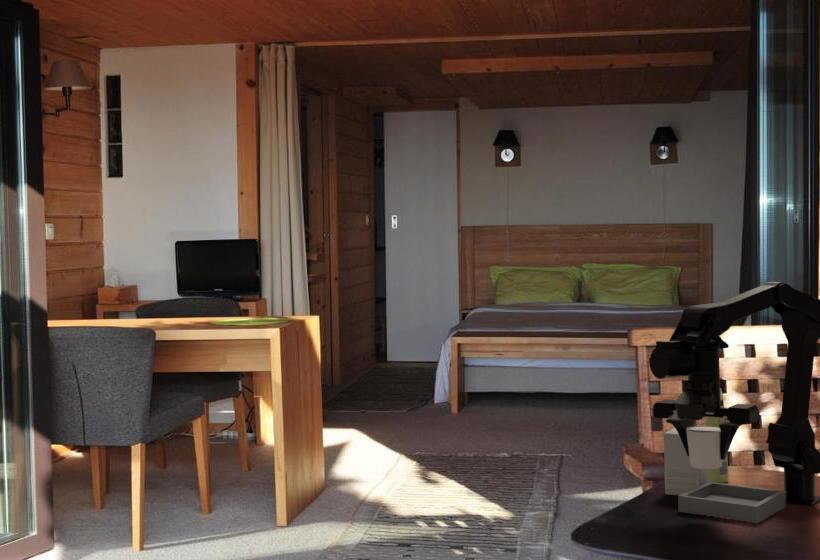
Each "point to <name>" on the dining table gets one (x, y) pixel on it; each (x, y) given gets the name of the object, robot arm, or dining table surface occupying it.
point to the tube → (722, 473)
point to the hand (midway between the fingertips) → (706, 457)
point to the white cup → (704, 446)
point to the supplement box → (680, 467)
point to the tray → (732, 502)
